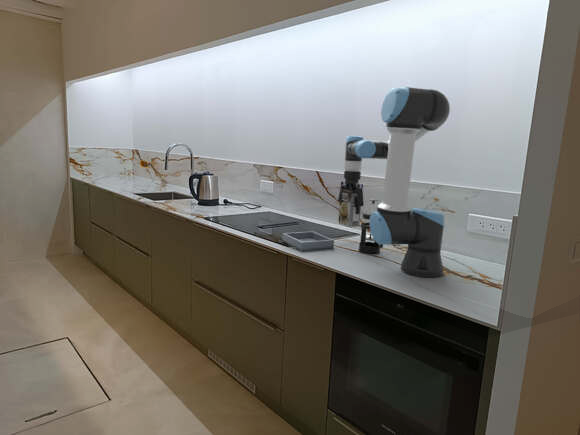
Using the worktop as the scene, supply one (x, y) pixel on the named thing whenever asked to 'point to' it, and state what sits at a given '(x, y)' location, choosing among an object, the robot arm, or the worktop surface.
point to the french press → (368, 236)
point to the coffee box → (347, 209)
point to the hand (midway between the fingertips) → (349, 219)
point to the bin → (308, 241)
